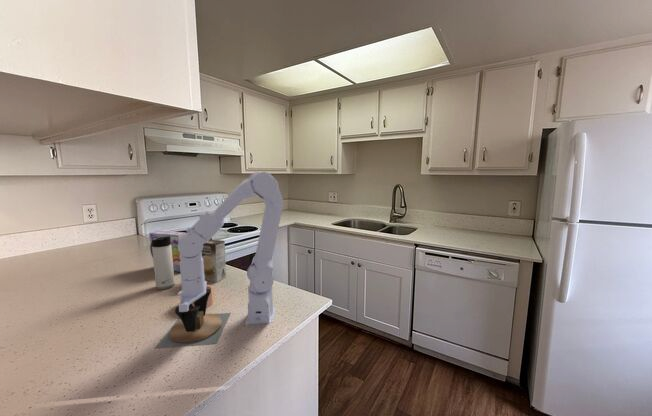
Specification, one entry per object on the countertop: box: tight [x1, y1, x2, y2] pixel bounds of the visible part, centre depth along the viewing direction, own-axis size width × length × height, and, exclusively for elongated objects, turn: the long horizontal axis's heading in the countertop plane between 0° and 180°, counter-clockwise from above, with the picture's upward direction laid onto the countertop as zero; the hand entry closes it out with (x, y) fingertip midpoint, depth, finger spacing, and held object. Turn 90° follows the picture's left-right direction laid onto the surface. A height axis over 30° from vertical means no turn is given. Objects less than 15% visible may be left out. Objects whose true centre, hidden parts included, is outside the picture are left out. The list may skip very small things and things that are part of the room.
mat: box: [153, 312, 232, 350], centre depth 74 cm, size 15×15×1 cm
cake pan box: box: [148, 229, 186, 272], centre depth 121 cm, size 19×5×18 cm, turn 70°
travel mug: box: [152, 236, 176, 291], centre depth 102 cm, size 6×7×20 cm
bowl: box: [179, 284, 216, 309], centre depth 88 cm, size 10×10×5 cm
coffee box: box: [201, 238, 227, 283], centre depth 110 cm, size 9×6×16 cm
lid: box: [170, 311, 222, 344], centre depth 74 cm, size 13×13×4 cm
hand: (196, 322), depth 74 cm, fingers open, 7 cm apart
